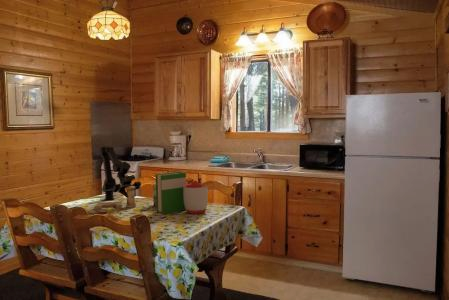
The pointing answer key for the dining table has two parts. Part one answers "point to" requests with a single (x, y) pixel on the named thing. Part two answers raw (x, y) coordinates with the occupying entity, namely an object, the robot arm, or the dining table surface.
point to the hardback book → (170, 192)
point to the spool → (130, 196)
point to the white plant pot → (195, 197)
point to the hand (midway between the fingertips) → (131, 196)
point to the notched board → (109, 205)
